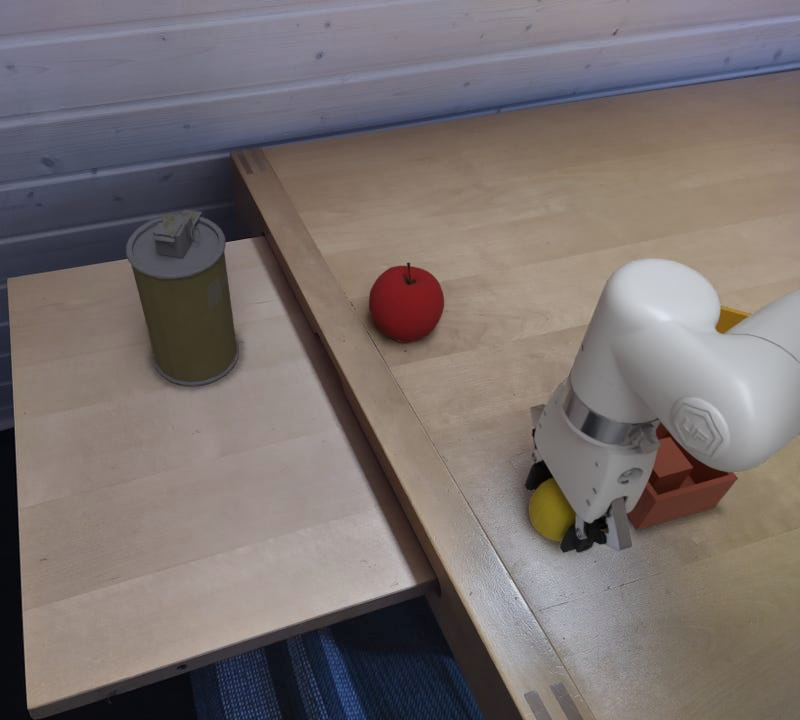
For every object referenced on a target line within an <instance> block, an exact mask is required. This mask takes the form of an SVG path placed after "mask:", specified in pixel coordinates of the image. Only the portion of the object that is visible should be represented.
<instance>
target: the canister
mask: <svg viewBox="0 0 800 720" xmlns="http://www.w3.org/2000/svg"><path fill="white" fill-rule="evenodd" d="M225 236H226V235H225V234H224V232H223V230H222V228H221V227H219V225H217V224H216V223H215V222H213V221H211V220H210V219H208V218H207V217H206V218H205V217H204V212H202V211H196V210H190V209H184V210H183V212H182V213H180V214H179V213H177V214H167V213H163V214H162V215H161V216H160V217H158V218H154V219H151V220H149V221H147V222H146V223H144V224H143V225H141V226H139V227H138V228H137V229H135V230H134V232H133V233H132V234H131V235H130V236H129V238H128V239H127V242H126V247H125V255H126V259H127V260H128V262H129V264H130V265H131V269H132V273H133V277H134V281H135V285H136V288H137V289H136V290H137V293H138V297H139V301H140V305H141V309H142V312H143V317H144V321H145V325H146V328H147V332H148V336H149V340H150V345H151V349H152V352H153V362H154V366H155V368H156V370H157V372H158V373H159V374H160V375H161V377H163V378H164V379H166V380H167V381H169V382H171V383H174V384H176V385H180V386H188V387H196V386H197V387H198V386H199V387H200V386H204V385H209V384H211V383H214V382H216V381H218V380H221V379H222V378H223V377H225V376H226V375H228V374H229V372H231V371H232V369H233V368H234V367H235V365H236V363H237V361H238V359H239V355H240V346H239V342H238V340H237V338H236V331H235V324H234V316H233V309H232V308H233V307H232V299H231V293H230V283H229V277H228V269H227V262H226V254H225V251H226V250H225V249H226V242H227V241H226V237H225Z"/></svg>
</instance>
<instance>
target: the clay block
mask: <svg viewBox="0 0 800 720" xmlns="http://www.w3.org/2000/svg"><path fill="white" fill-rule="evenodd" d="M658 441H659V442H660V444H661V446H660V447H659V448H658V449H657V455H656V459H655V463H654V466H653V469H652V472H651V475H650V477H649V480H648V482H649V483H650V484H651V486H652V487H653V489H654V490H655V492H656V493H657V495H658V494H662V493H665V492H669V491H672V490H676V489H679V488H680V486H681V485H682V483H683V482H684V480H685V479H686V478H687V476H688V475H689V473H690V472H691V470H692V469H693V466H692V465H691V464H690V463H689V461H688V460H687V459H686V457H685V456H684V455H683V453H682V452H681V451H680V450H679V448H678V447H677V446H676V444H675V443H674V442H673V440H672V439H671V438H670V437H668V438H664V439H660V440H658Z"/></svg>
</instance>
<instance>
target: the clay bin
mask: <svg viewBox="0 0 800 720" xmlns="http://www.w3.org/2000/svg"><path fill="white" fill-rule="evenodd" d="M656 435H657V436H656V437H657V439H658V440H660V439H664V438H668V437H670V438H671V439H672V440H673V442H674V443H675V444H676V446H677V447H678V448H679V450H680V451H681V452H682V453H683V455H684V456H685V457H686V459H687V460H688V461H689V463H690V464H691V465H692V466H693V469H692V470H691V472H690V473H689V475H688V476H687V478H686V479H685V480H684V482H683V483H682V485H681V486H680V488H679V489H676V490H672V491H669V492H665V493H662V494H658V495H657V493H656V492H655V490H654V489H653V487H652V486H651V484H650V483H649V482H647V484H646V486H645V489H644V491H643V493H642V495H641V497H640V498H639V500H638V502H637V504H636V505H635V507H634V509H633V510H632V511H631V512H629V513H627V518H628V520H630V522H631V523H632V525H633V526H634V528H635V530H636V531H639V530H642V529H645V528H649V527H652V526H656V525H659V524H662V523H666V522H670V521H674V520H677V519H679V518H683V517H687V516H690V515H694V514H697V513H700V512H701V513H702V512H703V511H707V510H711V509H715V508H716V507H717V505H718V504H719V503H720V502H721V501H722V499H723V498H724V497H725V496H726V494H727V493H728V491H730V490H731V488H732V487H733V485H734V484H736V482H737V481H738V479H739V477H738V476H737V474H736V473H735V472H725V471H720V470H717V469H714V468H711V467H709V466H707V465H705V464H704V463H702V462H701V461H699V460H697V459H696V458H695V457H693V456H692V455H691V454H690V453H689V452H687V451H686V450H685V449H684V448H683V447H682V446H681V445H680V444H679V443H678V442H677V441H676V439H675V438H674V437H673V436H672V435H671V434H670V432H669V431H668V430H667V429H666V427H665V426H664V425H663V424H662V422H660V424H659V426H658V427H657V429H656Z"/></svg>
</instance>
